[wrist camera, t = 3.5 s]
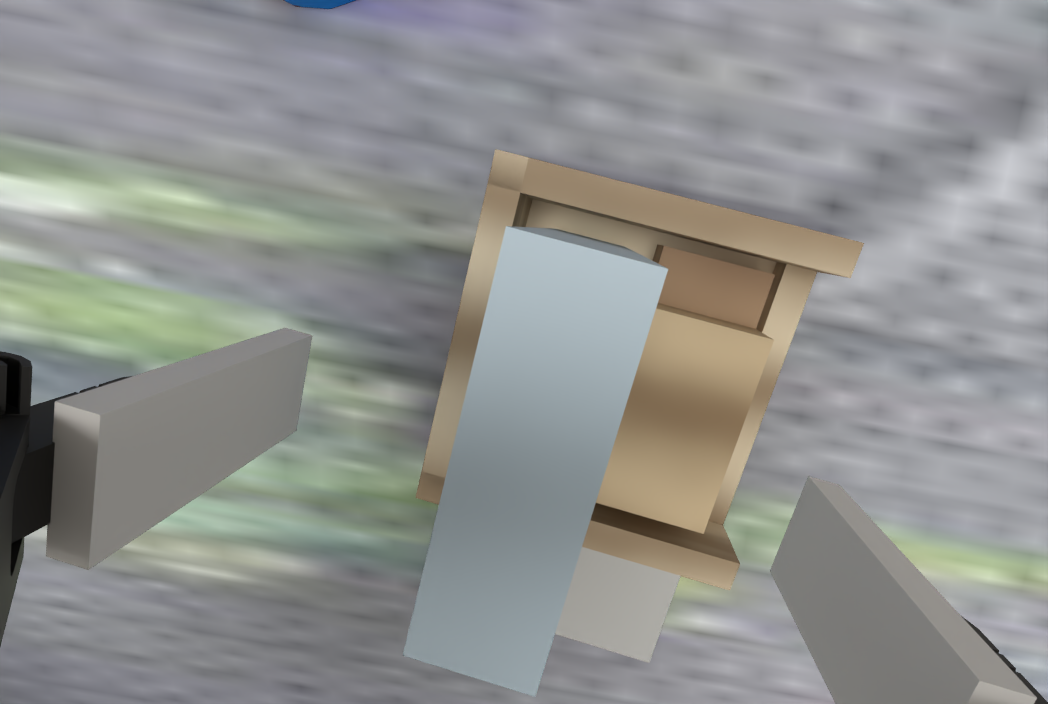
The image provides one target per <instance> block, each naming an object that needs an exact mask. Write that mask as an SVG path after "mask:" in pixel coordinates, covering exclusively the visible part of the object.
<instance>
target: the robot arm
mask: <svg viewBox="0 0 1048 704" xmlns="http://www.w3.org/2000/svg"><path fill="white" fill-rule="evenodd" d="M311 340H312V335H309V334H306V333H302V332H298V331H295V330H291V329H288V328H283V329H280V330H276V331H273V332H270V333H267V334H264V335H261V336H258V337H254V338H251V339H248V340H245V341H242V342H239V343H236V344H233V345H229V346H226V347H223V348H220V349H217V350H214V351H211V352H208V353H204V354H201V355H198V356H195V357H192V358H189V359H186V360H183V361H179V362H176V363H173V364H170V365H167V366H164V367H161V368H157V369H154V370H151V371H148V372H145V373H142V374H139V375H136V376H131V377H123V378H119V379H116V380H113V381H109V382H106V383H103V384H100V385H99V386H98V387H96V386H93V387H90V388H87V389H84V390H81V391H80V392H79V393H76V392H74V393H71V394H68V395H65V396H62V397H59V398H55V399H52V400H49V401H46V402H43V403H39V404H36V405H33V406H30V403H31V382H32V365H31V361H29V360H27V359H26V358H24V357H22V356H19V355H15V354H11V353H6V352H0V646H1V642H2V638H3V634H4V630H5V626H6V622H7V618H8V614H9V611H10V607H11V603H12V599H13V595H14V591H15V587H16V583H17V579H18V575H19V572H20V568H21V564H22V560H23V553H24V537H25V536H27V535H29V534H30V533H32V532H34V531H36V530H38V529H40V528H42V527H43V526H45V525H47V524H48V528H47V545H46V556H47V557H50V558H53V559H56V560H59V561H62V562H65V563H68V564H71V565H74V566H78V567H81V568H84V569H87V570H89V569H91V568H92V567H94V566H95V565H97V564H98V563H100V562H101V561H103V560H104V559H105V558H107V557H108V556H110V555H111V554H113V553H114V552H116V551H117V550H119V549H120V548H122V547H123V546H125V545H126V544H128V543H129V542H131V541H132V540H134V539H135V538H137V537H138V536H140V535H141V534H143V533H144V532H146V531H147V530H149V529H150V528H152V527H153V526H155V525H156V524H158V523H159V522H161V521H162V520H164V519H165V518H167V517H168V516H170V515H171V514H173V513H174V512H176V511H177V510H179V509H180V508H182V507H183V506H185V505H186V504H188V503H189V502H191V501H192V500H194V499H195V498H196V497H198V496H199V495H201V494H202V493H204V492H205V491H207V490H208V489H210V488H211V487H213V486H214V485H216V484H217V483H219V482H220V481H222V480H223V479H225V478H226V477H228V476H229V475H231V474H232V473H234V472H235V471H237V470H238V469H240V468H241V467H243V466H244V465H246V464H247V463H249V462H250V461H252V460H253V459H255V458H256V457H258V456H259V455H261V454H262V453H264V452H265V451H267V450H268V449H270V448H271V447H273V446H274V445H276V444H277V443H279V442H280V441H282V440H283V439H285V438H286V437H287V436H289V435H290V434H292V433H293V432H295V431H296V430H297V424H298V418H299V412H300V406H301V400H302V394H303V388H304V382H305V376H306V370H307V364H308V358H309V352H310V346H311ZM770 572H771V574H772V576H773V578H774V580H775V582H776V584H777V586H778V588H779V590H780V592H781V594H782V596H783V598H784V600H785V602H786V604H787V606H788V608H789V610H790V613H791V615H792V617H793V619H794V621H795V623H796V625H797V627H798V629H799V631H800V633H801V635H802V637H803V639H804V641H805V643H806V645H807V647H808V649H809V651H810V653H811V655H812V657H813V659H814V661H815V663H816V665H817V667H818V669H819V671H820V673H821V675H822V677H823V679H824V681H825V683H826V685H827V687H828V689H829V691H830V693H831V695H832V697H833V699H834V701H835V703H836V704H1048V702H1047V701H1046V700H1045V699H1044V698H1043V697H1042V696H1041V695H1040V694H1039V693H1038V692H1037V690H1036V689H1035V688H1034V687H1033V686H1032V685H1031V684H1030V683H1029V682H1028V681H1027V680H1026V679H1025V678H1024V677H1023V676H1022V675H1021V674H1020V673H1018V672H1016V668H1015V667H1014V666H1013V665H1012V664H1011V663H1010V662H1009V661H1008V660H1007V659H1006V658H1005V657H1004V655H1001V654H999V650H998V649H997V648H996V647H995V646H994V645H993V644H992V643H991V642H990V641H989V640H988V639H987V637H986V636H985V635H984V634H983V633H982V632H981V631H980V630H979V629H978V628H976V627H975V626H974V625H973V624H971V623H970V622H969V621H967V620H966V619H965V618H963V617H962V616H961V615H960V614H959V613H958V612H957V611H956V610H955V609H954V608H953V607H952V606H951V605H950V604H949V603H948V601H947V600H946V599H945V598H944V597H943V596H942V595H941V594H940V593H939V592H938V591H937V590H936V589H935V587H934V586H933V585H932V584H931V583H930V582H929V581H928V580H927V579H926V578H925V577H924V576H923V575H922V573H921V572H920V571H919V570H918V569H917V568H916V567H915V566H914V565H913V564H912V563H911V562H910V561H909V559H908V558H907V557H906V556H905V555H904V554H903V553H902V552H901V551H900V550H899V549H898V548H897V547H896V545H895V544H894V543H893V542H892V541H891V540H890V539H889V538H888V537H887V536H886V535H885V534H884V533H883V531H882V530H881V529H880V528H879V527H878V526H877V525H876V524H875V523H874V522H873V521H872V520H871V519H870V517H869V516H868V515H867V514H866V513H865V512H864V511H863V510H862V509H861V508H860V507H859V506H858V505H857V503H856V502H855V501H854V500H853V499H852V498H851V497H850V496H849V495H848V494H847V493H846V492H845V491H844V489H843V488H842V487H841V486H840V485H838V484H834V483H831V482H827V481H824V480H820V479H817V478H813V477H810V476H808V478H807V481H806V483H805V486H804V488H803V491H802V493H801V496H800V498H799V501H798V503H797V506H796V508H795V510H794V513H793V515H792V518H791V520H790V523H789V525H788V528H787V530H786V533H785V535H784V538H783V540H782V542H781V545H780V547H779V550H778V552H777V555H776V557H775V560H774V562H773V565H772V567H771V570H770Z"/></svg>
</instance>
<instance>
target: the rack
mask: <svg viewBox="0 0 1048 704" xmlns="http://www.w3.org/2000/svg"><path fill="white" fill-rule="evenodd" d="M506 226H512V227H533V228H553V229H560V230H563V231H567V232H571V233H575V234H579V235H582V236H586V237H590V238H594V239H598V240H602V241H605V242H609V243H613V244H617V245H621V246H624V247H627V248H628V249H630V250H632V251H634V252H636V253H638V254H640V255H642V256H644V257H646V258H648V259H650V260H653V257H654V254H655V250H656V247H657V244H658V245H663V246H667V247H671V248H674V249H678V250H682V251H686V252H690V253H694V254H698V255H701V256H705V257H709V258H713V259H717V260H721V261H724V262H728V263H732V264H736V265H740V266H744V267H747V268H751V269H755V270H759V271H763V272H767V273H770V274H774V275H775V276H774V279H773V282H772V285H771V288H770V290H769V293H768V296H767V299H766V302H765V305H764V307H763V310H762V313H761V316H760V319H759V321H758V324H757V327H756V329H757V330H759V331H760V332H762V333H764V334H765V335H767V336H769V337H770V338H772V339H773V340H774V342H773V345H772V347H771V350H770V353H769V356H768V358H767V361H766V364H765V367H764V369H763V372H762V375H761V378H760V380H759V383H758V386H757V389H756V391H755V394H754V397H753V400H752V402H751V405H750V408H749V411H748V413H747V416H746V419H745V421H744V424H743V427H742V430H741V432H740V435H739V438H738V441H737V443H736V446H735V449H734V452H733V454H732V457H731V460H730V463H729V465H728V468H727V471H726V474H725V476H724V479H723V482H722V485H721V487H720V490H719V493H718V496H717V498H716V501H715V504H714V507H713V509H712V512H711V515H710V518H709V520H708V523H707V526H706V529H705V531H704V534H702V533H699V532H695V531H692V530H688V529H685V528H682V527H678V526H675V525H671V524H668V523H664V522H661V521H657V520H654V519H651V518H647V517H644V516H640V515H637V514H633V513H630V512H626V511H623V510H619V509H616V508H613V507H609V506H606V505H602V504H599V503H595V507H594V510H593V513H592V516H591V519H590V523H589V526H588V529H587V532H586V535H585V539H584V542H583V545H582V547H584V548H588V549H591V550H594V551H598V552H601V553H605V554H608V555H611V556H615V557H618V558H622V559H625V560H628V561H632V562H635V563H638V564H642V565H645V566H649V567H652V568H655V569H659V570H662V571H666V572H669V573H672V574H676V575H679V576H683V577H686V578H689V579H693V580H696V581H699V582H703V583H706V584H710V585H713V586H716V587H720V588H723V589H727V590H730V589H731V586H732V584H733V581H734V578H735V576H736V573H737V571H738V568H739V565H740V563H739V560H738V558H737V556H736V554H735V551H734V549H733V547H732V545H731V542H730V540H729V538H728V535H727V533H726V531H725V529H724V526H723V524H724V521H725V518H726V516H727V513H728V510H729V508H730V505H731V502H732V500H733V497H734V494H735V491H736V489H737V486H738V483H739V481H740V478H741V475H742V473H743V470H744V467H745V465H746V462H747V459H748V457H749V454H750V451H751V448H752V446H753V443H754V440H755V438H756V435H757V432H758V430H759V427H760V424H761V422H762V419H763V416H764V413H765V411H766V408H767V405H768V403H769V400H770V397H771V395H772V392H773V389H774V387H775V384H776V381H777V378H778V376H779V373H780V370H781V368H782V365H783V362H784V360H785V357H786V354H787V352H788V349H789V346H790V344H791V341H792V338H793V335H794V333H795V330H796V327H797V325H798V322H799V319H800V317H801V314H802V311H803V309H804V306H805V303H806V300H807V298H808V295H809V292H810V290H811V287H812V284H813V282H814V279H815V276H816V274H817V272H821V273H826V274H832V275H837V276H842V277H848V278H851V275H852V273H853V270H854V268H855V265H856V263H857V260H858V257H859V255H860V252H861V250H862V247H863V244H864V243H861V242H857V241H853V240H850V239H846V238H842V237H838V236H834V235H830V234H826V233H822V232H818V231H814V230H810V229H806V228H803V227H799V226H795V225H791V224H787V223H783V222H779V221H775V220H771V219H767V218H763V217H759V216H755V215H752V214H748V213H744V212H740V211H736V210H732V209H728V208H724V207H720V206H716V205H712V204H708V203H705V202H701V201H697V200H693V199H689V198H685V197H681V196H677V195H673V194H669V193H665V192H661V191H657V190H654V189H650V188H646V187H642V186H638V185H634V184H630V183H626V182H622V181H618V180H614V179H610V178H607V177H603V176H599V175H595V174H591V173H587V172H583V171H579V170H575V169H571V168H567V167H563V166H559V165H556V164H552V163H548V162H544V161H540V160H536V159H532V158H528V157H524V156H520V155H516V154H512V153H509V152H505V151H501V150H497V149H495V154H494V158H493V162H492V167H491V171H490V175H489V180H488V184H487V188H486V193H485V197H484V202H483V206H482V210H481V215H480V219H479V223H478V228H477V232H476V236H475V241H474V245H473V249H472V254H471V258H470V263H469V267H468V271H467V276H466V280H465V284H464V289H463V293H462V297H461V302H460V306H459V310H458V315H457V319H456V323H455V328H454V332H453V337H452V341H451V345H450V350H449V354H448V358H447V363H446V367H445V371H444V376H443V380H442V384H441V389H440V393H439V398H438V402H437V406H436V411H435V415H434V419H433V424H432V428H431V432H430V437H429V441H428V445H427V450H426V454H425V459H424V463H423V467H422V472H421V476H420V480H419V485H418V489H417V493H416V498H418V499H422V500H425V501H428V502H432V503H435V504H439V502H440V498H441V494H442V490H443V486H444V482H445V477H446V473H447V469H448V465H449V461H450V457H451V453H452V448H453V444H454V440H455V436H456V432H457V428H458V423H459V419H460V415H461V411H462V407H463V403H464V399H465V394H466V390H467V386H468V382H469V378H470V374H471V369H472V365H473V361H474V357H475V353H476V349H477V345H478V340H479V336H480V332H481V328H482V324H483V320H484V315H485V311H486V307H487V303H488V299H489V295H490V291H491V286H492V282H493V278H494V274H495V270H496V266H497V261H498V257H499V253H500V249H501V245H502V241H503V237H504V232H505V228H506Z"/></svg>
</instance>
